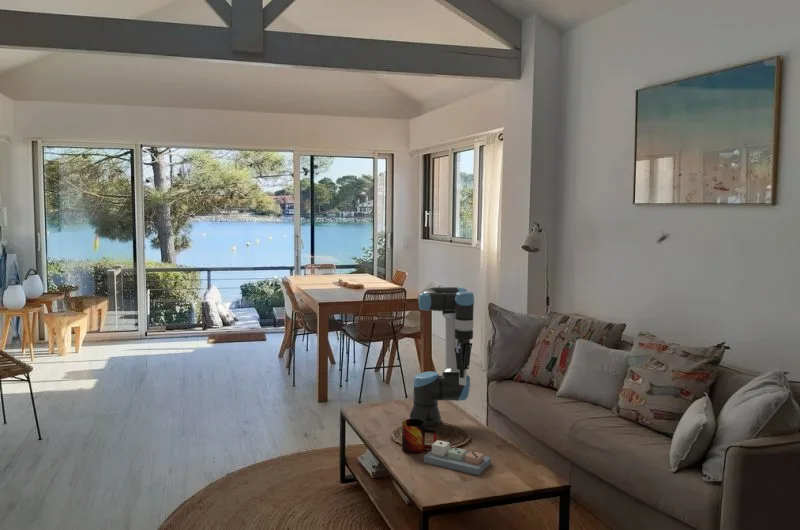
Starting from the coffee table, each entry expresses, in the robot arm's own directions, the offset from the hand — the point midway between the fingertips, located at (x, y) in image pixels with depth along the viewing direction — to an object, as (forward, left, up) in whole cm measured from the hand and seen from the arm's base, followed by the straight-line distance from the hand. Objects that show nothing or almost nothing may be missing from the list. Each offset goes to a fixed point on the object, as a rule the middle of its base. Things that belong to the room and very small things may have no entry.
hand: (462, 384), depth 269 cm
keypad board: (+10, +3, -29) cm, 31 cm away
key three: (+11, +10, -29) cm, 32 cm away
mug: (+7, -17, -30) cm, 35 cm away
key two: (+11, +3, -29) cm, 31 cm away
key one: (+11, -5, -27) cm, 29 cm away
